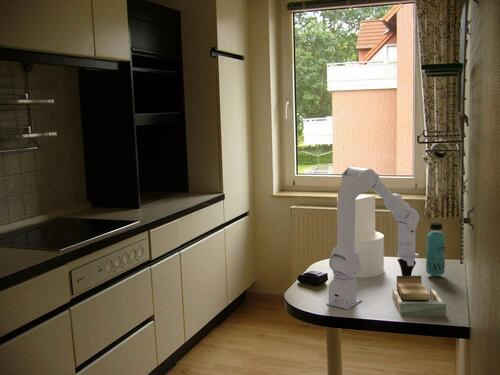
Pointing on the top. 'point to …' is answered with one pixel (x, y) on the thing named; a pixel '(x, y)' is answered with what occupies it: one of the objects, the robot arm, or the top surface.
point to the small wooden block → (411, 288)
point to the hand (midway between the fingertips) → (406, 279)
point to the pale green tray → (421, 306)
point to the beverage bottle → (435, 250)
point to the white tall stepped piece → (368, 237)
